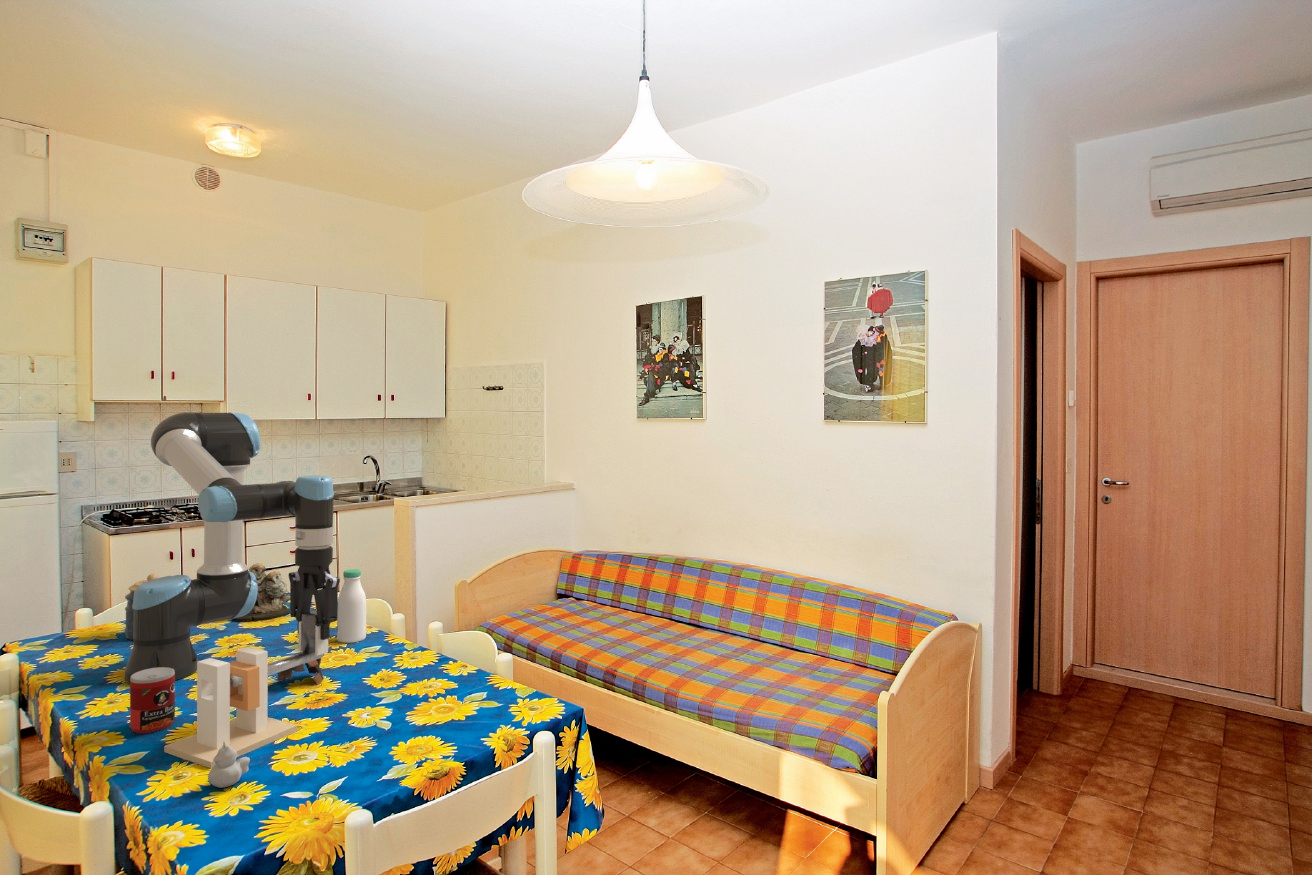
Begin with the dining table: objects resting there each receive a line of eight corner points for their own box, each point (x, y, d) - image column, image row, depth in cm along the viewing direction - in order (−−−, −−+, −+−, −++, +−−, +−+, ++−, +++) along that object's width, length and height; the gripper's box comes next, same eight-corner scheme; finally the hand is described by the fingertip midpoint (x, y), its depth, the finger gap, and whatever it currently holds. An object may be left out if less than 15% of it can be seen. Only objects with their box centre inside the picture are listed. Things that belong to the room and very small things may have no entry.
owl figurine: (230, 625, 223) (230, 569, 222) (223, 617, 232) (222, 563, 231) (294, 615, 235) (294, 562, 234) (285, 608, 243) (284, 557, 243)
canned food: (141, 737, 146) (141, 682, 146) (122, 727, 151) (122, 674, 150) (182, 724, 153) (182, 671, 153) (163, 715, 157) (163, 664, 157)
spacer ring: (221, 703, 147) (221, 664, 147) (233, 699, 149) (232, 660, 149) (247, 711, 144) (247, 670, 143) (259, 706, 146) (259, 666, 146)
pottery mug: (315, 691, 173) (296, 664, 171) (283, 706, 175) (263, 679, 173) (339, 662, 185) (320, 636, 183) (308, 676, 186) (290, 650, 184)
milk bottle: (371, 638, 213) (372, 569, 212) (348, 645, 206) (348, 574, 206) (355, 633, 217) (355, 566, 216) (331, 640, 210) (331, 570, 210)
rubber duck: (203, 785, 128) (203, 740, 128) (243, 772, 133) (244, 728, 133) (214, 796, 125) (214, 749, 125) (255, 782, 130) (255, 737, 129)
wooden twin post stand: (164, 752, 140) (164, 664, 140) (251, 717, 157) (251, 638, 156) (211, 768, 134) (211, 676, 134) (297, 731, 150) (297, 649, 150)
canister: (168, 625, 222) (168, 567, 221) (187, 633, 214) (187, 573, 214) (117, 635, 211) (117, 574, 211) (135, 644, 204) (135, 581, 203)
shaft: (241, 689, 144) (241, 636, 144) (225, 685, 146) (225, 633, 146) (329, 658, 163) (329, 612, 163) (314, 655, 165) (314, 609, 165)
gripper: (271, 545, 162) (271, 649, 162) (328, 553, 154) (327, 663, 155) (301, 540, 168) (300, 640, 169) (356, 547, 161) (355, 653, 161)
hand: (313, 651), depth 162 cm, fingers closed on shaft, 5 cm apart
